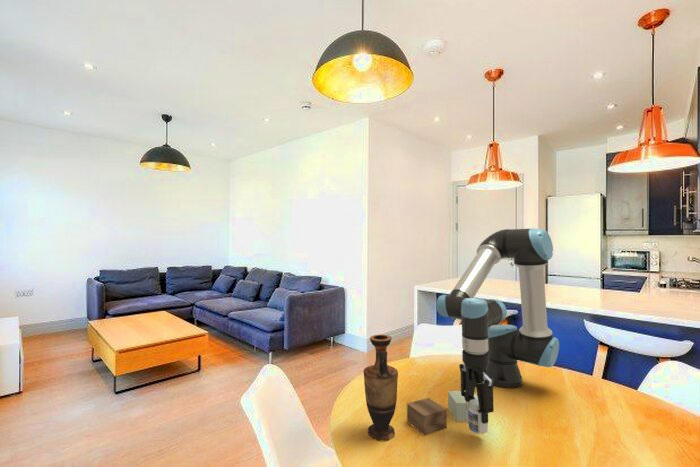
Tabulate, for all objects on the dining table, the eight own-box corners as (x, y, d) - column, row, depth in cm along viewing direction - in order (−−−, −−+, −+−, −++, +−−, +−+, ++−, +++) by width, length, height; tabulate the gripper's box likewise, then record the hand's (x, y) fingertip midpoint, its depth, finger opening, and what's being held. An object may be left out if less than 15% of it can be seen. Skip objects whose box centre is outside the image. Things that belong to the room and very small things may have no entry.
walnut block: (428, 415, 118) (428, 397, 118) (447, 428, 110) (446, 409, 110) (407, 421, 114) (407, 403, 114) (424, 435, 106) (424, 416, 106)
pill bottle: (466, 430, 103) (465, 402, 103) (472, 423, 107) (472, 396, 107) (481, 436, 100) (481, 407, 100) (488, 429, 103) (487, 401, 103)
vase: (363, 423, 113) (363, 332, 113) (396, 424, 112) (395, 332, 113) (364, 443, 102) (363, 342, 102) (400, 444, 101) (399, 342, 102)
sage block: (472, 407, 123) (472, 390, 123) (483, 420, 114) (483, 402, 114) (448, 408, 122) (447, 391, 123) (456, 421, 113) (456, 403, 114)
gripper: (447, 343, 111) (449, 414, 111) (484, 362, 94) (486, 447, 94) (467, 340, 113) (469, 410, 113) (506, 359, 96) (508, 442, 96)
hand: (477, 427), depth 103 cm, fingers closed on pill bottle, 5 cm apart
